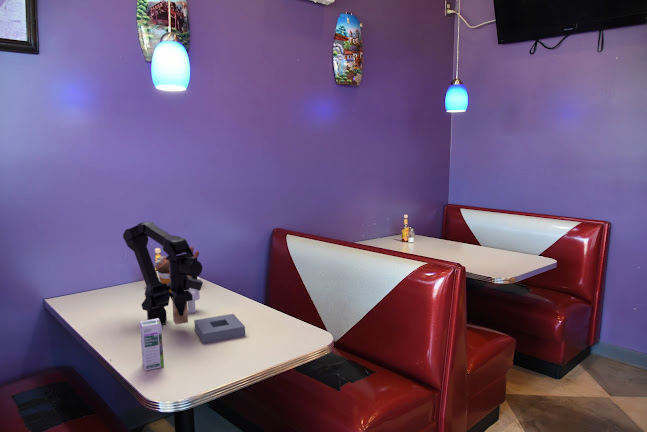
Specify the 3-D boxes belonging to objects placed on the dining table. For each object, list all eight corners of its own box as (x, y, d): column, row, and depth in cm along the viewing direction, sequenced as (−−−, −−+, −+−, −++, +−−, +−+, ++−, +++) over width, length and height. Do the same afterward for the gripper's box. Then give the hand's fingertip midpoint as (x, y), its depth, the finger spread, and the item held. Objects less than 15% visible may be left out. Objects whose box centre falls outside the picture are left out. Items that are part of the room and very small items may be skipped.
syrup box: (144, 371, 147) (141, 326, 145) (142, 363, 152) (139, 320, 150) (164, 367, 150) (161, 323, 148) (161, 360, 155) (158, 317, 153)
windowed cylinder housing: (180, 314, 197) (178, 278, 195) (186, 308, 204) (185, 274, 202) (196, 314, 196) (195, 279, 194) (203, 308, 203) (201, 274, 201)
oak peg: (175, 324, 175) (174, 300, 174) (173, 320, 179) (172, 297, 178) (188, 322, 177) (186, 299, 176) (185, 318, 181) (184, 295, 180)
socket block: (203, 343, 167) (203, 333, 167) (194, 329, 181) (194, 320, 180) (245, 335, 174) (244, 326, 173) (233, 322, 187) (233, 313, 187)
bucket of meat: (165, 299, 217) (163, 256, 214) (150, 291, 229) (147, 250, 226) (205, 289, 230) (203, 249, 227) (188, 282, 242) (186, 244, 239)
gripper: (205, 276, 171) (207, 318, 173) (195, 264, 187) (196, 303, 190) (173, 280, 166) (176, 323, 168) (165, 268, 182) (167, 307, 185)
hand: (180, 313), depth 178 cm, fingers closed on oak peg, 4 cm apart
